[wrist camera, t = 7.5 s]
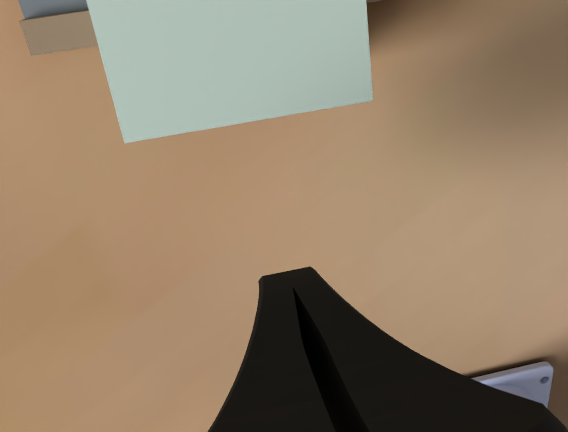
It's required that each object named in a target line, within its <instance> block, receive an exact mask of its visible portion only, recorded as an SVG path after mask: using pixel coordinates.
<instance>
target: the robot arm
mask: <svg viewBox="0 0 568 432" xmlns="http://www.w3.org/2000/svg"><path fill="white" fill-rule="evenodd" d="M258 282H259V300H258V307H257V312H256V317H255V321H254V326H253V330H252V334H251V337H250V340H249V344H248V347H247V350H246V353H245V356H244V359H243V362H242V364H241V367H240V370H239V372H238V374H237V377H236V379H235V381H234V384H233V386H232V388H231V390H230V392H229V394H228V396H227V398H226V400H225V402H224V404H223V406H222V408H221V410H220V412H219V414H218V416H217V417H216V419H215V421H214V423H213V424H212V426H211V427H210V429H209V430H208V432H568V430H567V428H566V427H565V426H564V425H563V424H562V423H561V422H560V421H559V420H558V419H557V418H556V417H555V416H554V415H553V414H552V413H551V412H550V411H549V410H548V409H547V407H548V401H549V395H550V389H551V383H552V377H553V371H554V369H553V367H552V366H551V365H550V364H549V363H548V362H539V363H534V364H530V365H526V366H522V367H517V368H513V369H509V370H505V371H500V372H496V373H492V374H487V375H483V376H479V377H475V378H468V377H466V376H463V375H461V374H459V373H457V372H454V371H452V370H450V369H448V368H446V367H444V366H442V365H440V364H438V363H436V362H434V361H432V360H430V359H428V358H426V357H424V356H422V355H420V354H419V353H417V352H415V351H413V350H411V349H410V348H408V347H407V346H405V345H403V344H402V343H400V342H399V341H397V340H395V339H394V338H393V337H391V336H390V335H388V334H387V333H385V332H384V331H382V330H381V329H380V328H378V327H377V326H376V325H374V324H373V323H372V322H370V321H369V320H368V319H367V318H365V317H364V316H363V315H362V314H360V313H359V312H358V311H357V310H356V309H355V308H353V307H352V306H351V305H350V304H349V303H348V302H346V301H345V300H344V299H343V298H342V297H341V296H340V295H339V294H338V293H337V292H336V291H335V290H334V289H333V288H332V287H330V286H329V285H328V284H327V282H326V281H325V280H324V279H323V278H322V277H321V276H320V275H319V274H318V273H317V272H316V270H314V269H313V268H312V267H306V268H301V269H296V270H291V271H286V272H281V273H276V274H271V275H266V276H262V277H261V278H260V280H259V281H258Z"/></svg>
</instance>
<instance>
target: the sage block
mask: <svg viewBox="0 0 568 432" xmlns="http://www.w3.org/2000/svg"><path fill="white" fill-rule="evenodd" d="M86 1H87V5H88V9H89V13H90V16H91V20H92V24H93V28H94V31H95V35H96V39H97V42H98V46H99V50H100V54H101V57H102V61H103V65H104V69H105V72H106V76H107V80H108V84H109V87H110V91H111V95H112V98H113V102H114V106H115V110H116V113H117V117H118V121H119V125H120V128H121V132H122V136H123V139H124V143H129V142H134V141H140V140H146V139H152V138H158V137H164V136H170V135H175V134H181V133H187V132H193V131H199V130H205V129H210V128H216V127H222V126H228V125H234V124H240V123H245V122H251V121H257V120H263V119H269V118H275V117H281V116H286V115H292V114H298V113H304V112H310V111H316V110H321V109H327V108H333V107H339V106H345V105H351V104H356V103H362V102H368V101H373V95H372V80H371V65H370V50H369V35H368V20H367V5H366V0H86Z"/></svg>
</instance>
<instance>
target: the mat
mask: <svg viewBox="0 0 568 432" xmlns="http://www.w3.org/2000/svg"><path fill="white" fill-rule="evenodd" d="M377 1H383V0H366V3H371V2H377ZM19 3H20V6H21V9H22V12H23V15H24V18H25V19H24V20H21V21H19V22H20V25H21V28H22V30H23V33H24V36H25V39H26V42H27V45H28V47H29V50H30V53H31V56H34V55H41V54H47V53H53V52H60V51H66V50H72V49H79V48H85V47H91V46H98V42H97V39H96V35H95V31H94V28H93V24H92V20H91V16H90V13H89V9H88V5H87V1H86V0H19Z"/></svg>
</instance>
